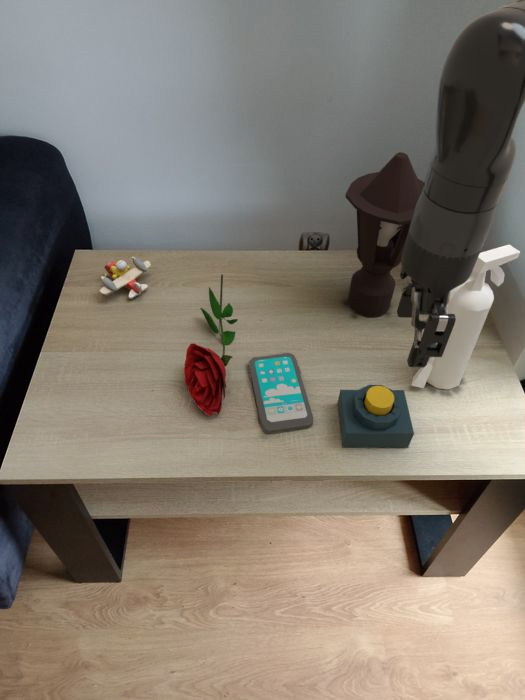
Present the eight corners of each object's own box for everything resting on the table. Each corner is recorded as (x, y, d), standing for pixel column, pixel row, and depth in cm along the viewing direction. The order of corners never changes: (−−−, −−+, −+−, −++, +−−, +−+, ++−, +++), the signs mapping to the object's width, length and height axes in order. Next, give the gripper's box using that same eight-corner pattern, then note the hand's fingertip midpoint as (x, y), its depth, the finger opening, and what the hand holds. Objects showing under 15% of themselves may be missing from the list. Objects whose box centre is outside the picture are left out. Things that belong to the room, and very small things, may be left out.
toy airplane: (108, 274, 103) (101, 248, 98) (153, 273, 104) (148, 247, 99) (101, 305, 97) (93, 279, 92) (149, 303, 98) (143, 277, 93)
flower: (203, 248, 91) (194, 390, 73) (250, 265, 94) (252, 405, 76) (184, 280, 97) (171, 418, 79) (229, 295, 101) (226, 431, 83)
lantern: (418, 326, 94) (468, 177, 72) (340, 334, 93) (367, 184, 70) (393, 275, 104) (431, 129, 82) (322, 281, 103) (341, 135, 80)
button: (389, 393, 77) (391, 385, 75) (393, 416, 74) (396, 407, 73) (362, 393, 77) (364, 385, 75) (366, 415, 74) (368, 407, 73)
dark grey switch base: (398, 404, 82) (407, 381, 78) (408, 448, 77) (417, 426, 73) (337, 404, 82) (341, 381, 78) (342, 447, 77) (347, 425, 72)
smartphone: (262, 431, 77) (246, 357, 87) (262, 434, 78) (246, 361, 88) (316, 423, 78) (295, 351, 88) (316, 426, 79) (294, 355, 89)
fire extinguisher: (394, 374, 87) (432, 256, 68) (450, 351, 90) (501, 233, 72) (419, 403, 83) (467, 286, 64) (477, 378, 86) (538, 260, 68)
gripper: (503, 279, 47) (451, 385, 60) (467, 195, 57) (429, 301, 69) (422, 276, 48) (387, 382, 60) (400, 193, 57) (373, 299, 69)
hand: (410, 339), depth 64 cm, fingers open, 8 cm apart
